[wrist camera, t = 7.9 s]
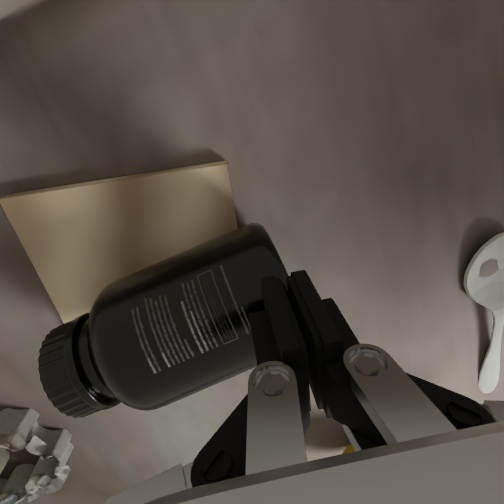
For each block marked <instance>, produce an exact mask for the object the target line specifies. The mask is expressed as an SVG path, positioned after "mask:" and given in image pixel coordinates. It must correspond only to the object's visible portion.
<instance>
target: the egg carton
mask: <svg viewBox="0 0 504 504" xmlns="http://www.w3.org/2000/svg"><path fill="white" fill-rule="evenodd" d="M39 415H40V414H39V413H37V412H36V411H34V410H33V409H31V408H29V409H24V410H14V409H11V408H5V409H3V410H1V411H0V474H1V472H2V470H3V469H4V467H5V465H6V463H7V462H8V460H9V458H10V454H9V452H8V451H7V450H5V449H10V450H11V451H21V450H23V449H24V448H26V450H27V451H28V452H29V453H32V454H34V455H39V456H40V455H41V456H40V458H39V460H38V462H37V464H36V465H32V464H21V465H18V466H16V467H15V469H14V470H13V472H12V474H11V476H10V478H9V479H8V480H7V479H1V478H0V504H26V503H28V502H31V501H34V500H35V499H37V498H38V497H40V496H41V495H44V494H50V493H55V492H57V491H58V490H60V488H61V487H62V486H63V484H64V482H65V480H66V478H67V476H68V474H69V473H70V471H71V469H70V467H69V466H65V465H66V462H67V460H68V458H69V456H70V454H71V452H72V449H73V445H72V444H71V443H70V440H71V437H72V434H71V433H70V432H68V431H67V430H66V429H61V430H48V429H45V428H43V427H41V426H40V425H39V424H38V422H37V419H38V417H39ZM3 448H5V449H3Z"/></svg>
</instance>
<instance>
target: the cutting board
mask: <svg viewBox="0 0 504 504" xmlns="http://www.w3.org/2000/svg"><path fill="white" fill-rule="evenodd" d="M0 204H1V206H2V208H3V210H4V212H5V214H6V215H7V217H8V219H9V221H10V223H11V225H12V227H13V229H14V230H15V232H16V234H17V236H18V238H19V240H20V242H21V244H22V246H23V247H24V249H25V251H26V253H27V255H28V257H29V259H30V261H31V262H32V264H33V266H34V268H35V270H36V272H37V274H38V276H39V278H40V279H41V281H42V283H43V285H44V287H45V289H46V291H47V293H48V294H49V296H50V298H51V300H52V302H53V304H54V306H55V308H56V310H57V311H58V313H59V315H60V317H61V319H62V321H63V323H64V324H65V323H67V322H69V321H72V320H74V319H75V318H76V317H78V316H81V315H83V314H85V313H88V312H90V311H91V308H92V305H93V303H94V301H95V299H96V297H97V296H98V294H99V293H100V292H101V291H102V290H103V289H104V288H105V287H106V286H107V285H108V284H110V283H112V282H114V281H116V280H118V279H120V278H122V277H125V276H127V275H129V274H132V273H134V272H137V271H139V270H141V269H144V268H146V267H148V266H151V265H153V264H155V263H158V262H160V261H162V260H165V259H167V258H169V257H172V256H174V255H176V254H179V253H181V252H183V251H186V250H188V249H190V248H193V247H195V246H197V245H200V244H202V243H205V242H207V241H209V240H212V239H214V238H216V237H219V236H221V235H223V234H226V233H228V232H230V231H233V230H236V229H238V227H237V221H236V215H235V209H234V203H233V196H232V190H231V184H230V178H229V172H228V166H227V161H220V162H214V163H207V164H201V165H194V166H188V167H181V168H175V169H168V170H162V171H155V172H149V173H142V174H136V175H129V176H123V177H116V178H109V179H103V180H96V181H90V182H83V183H77V184H70V185H64V186H57V187H51V188H44V189H38V190H31V191H25V192H18V193H12V194H8V195H6V196H4V197H2V198H0Z"/></svg>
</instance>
